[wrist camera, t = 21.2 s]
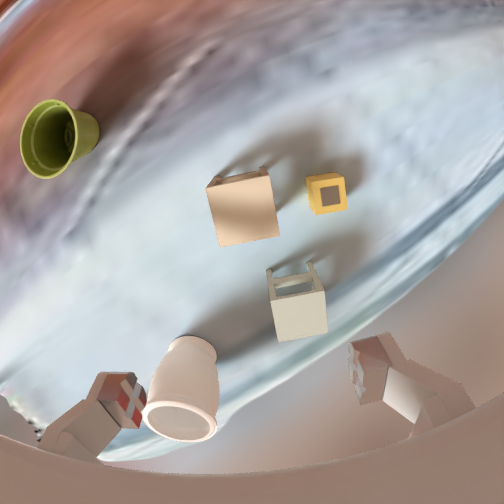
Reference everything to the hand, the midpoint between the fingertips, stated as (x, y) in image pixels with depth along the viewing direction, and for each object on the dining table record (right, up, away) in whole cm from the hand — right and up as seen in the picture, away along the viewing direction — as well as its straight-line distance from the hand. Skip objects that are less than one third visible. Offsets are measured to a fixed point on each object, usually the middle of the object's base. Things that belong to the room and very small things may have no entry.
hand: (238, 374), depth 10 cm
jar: (-10, -13, +37) cm, 41 cm away
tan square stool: (0, +11, +27) cm, 30 cm away
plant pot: (-23, +21, +23) cm, 39 cm away
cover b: (+6, 0, +32) cm, 33 cm away
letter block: (+10, +12, +27) cm, 31 cm away
